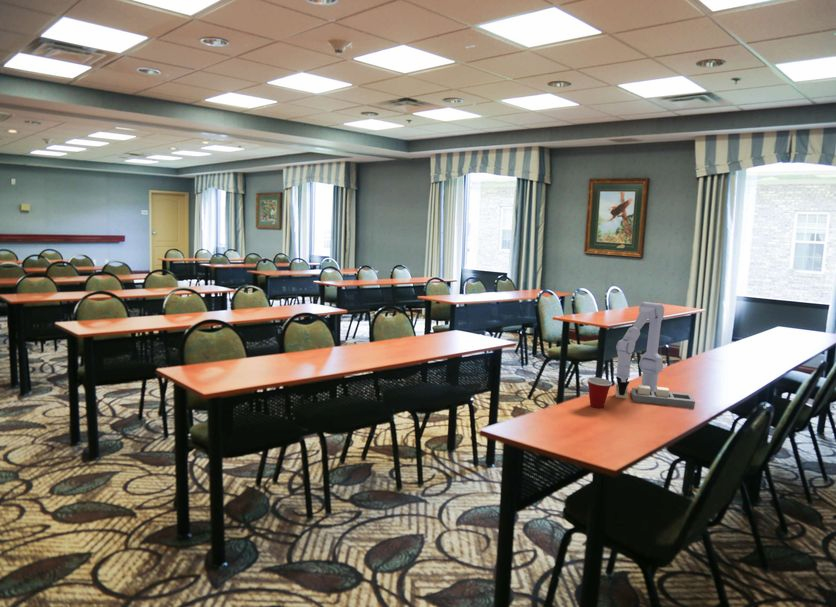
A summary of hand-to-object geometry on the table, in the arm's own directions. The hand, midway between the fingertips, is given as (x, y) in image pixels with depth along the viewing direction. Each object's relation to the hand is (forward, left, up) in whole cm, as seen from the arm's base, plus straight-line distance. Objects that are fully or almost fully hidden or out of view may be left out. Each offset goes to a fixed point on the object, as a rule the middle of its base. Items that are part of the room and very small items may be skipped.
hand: (621, 393), depth 285 cm
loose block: (0, 0, -1) cm, 1 cm away
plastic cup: (+21, -11, -2) cm, 24 cm away
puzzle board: (0, +18, -1) cm, 18 cm away
